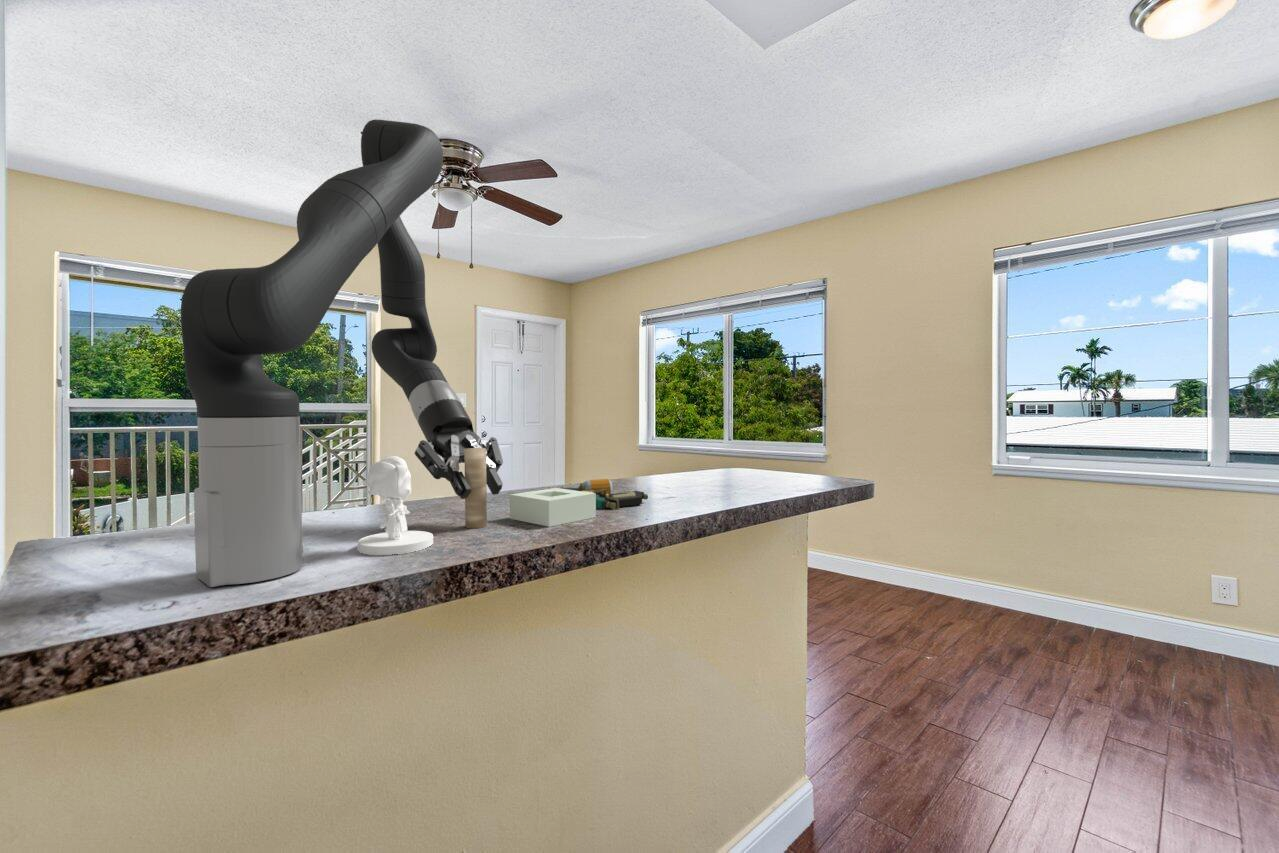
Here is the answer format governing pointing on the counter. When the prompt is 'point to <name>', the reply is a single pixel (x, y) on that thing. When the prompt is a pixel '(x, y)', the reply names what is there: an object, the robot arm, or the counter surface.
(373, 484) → the figurine
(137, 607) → the counter surface
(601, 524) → the counter surface
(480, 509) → the peg
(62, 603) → the counter surface
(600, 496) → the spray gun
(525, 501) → the socket block
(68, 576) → the counter surface
